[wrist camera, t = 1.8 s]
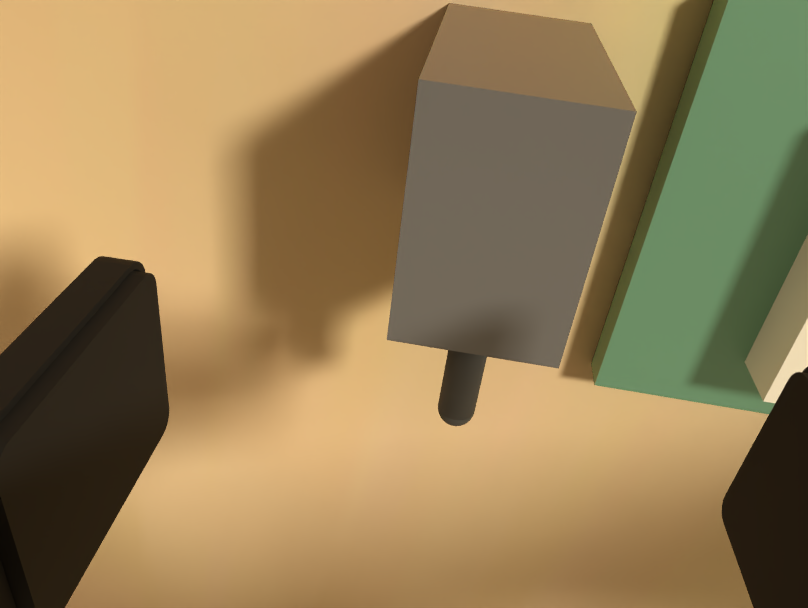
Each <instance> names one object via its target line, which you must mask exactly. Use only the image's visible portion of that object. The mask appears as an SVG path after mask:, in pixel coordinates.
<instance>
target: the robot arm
mask: <svg viewBox="0 0 808 608" xmlns="http://www.w3.org/2000/svg"><path fill="white" fill-rule="evenodd" d="M168 418H169V403H168V393H167V384H166V374H165V364H164V354H163V345H162V335H161V325H160V315H159V305H158V296H157V286H156V280H155V277H154V275H153V274H151V273H145V269H144V267H143V265H142V264H141V263H140V262H137V261H131V260H124V259H118V258H111V257H104V256H101V257H98V258H96V259H95V260H94V261H93V262H92V263H91V264H90V265H89V266H88V267H87V268H86V269H85V270H84V271H83V272H82V273H81V274H80V275H79V276H78V277H77V278H76V279H75V280H74V281H73V282H72V283H71V284H70V285H69V286H68V287H67V288H66V289H65V290H64V291H63V292H62V293H61V294H60V295H59V296H58V297H57V298H56V299H55V300H54V301H53V302H52V303H51V304H50V305H49V306H48V307H47V308H46V309H45V310H44V311H43V312H42V313H41V314H40V315H39V316H38V317H37V318H36V319H35V320H34V321H33V322H32V323H31V324H30V325H29V326H28V327H27V328H26V329H25V330H24V331H23V332H22V333H21V334H20V335H19V336H18V337H17V338H16V340H15V341H14V342H13V343H12V344H11V345H10V346H9V347H8V348H7V349H6V350H5V351H4V352H3V353H2V354H1V355H0V608H65V606H66V605H67V603H68V601H69V599H70V597H71V596H72V594H73V592H74V590H75V589H76V587H77V585H78V583H79V582H80V580H81V578H82V576H83V575H84V573H85V571H86V569H87V568H88V566H89V564H90V562H91V561H92V559H93V557H94V555H95V553H96V552H97V550H98V548H99V546H100V545H101V543H102V541H103V539H104V538H105V536H106V534H107V532H108V531H109V529H110V527H111V525H112V524H113V522H114V520H115V518H116V517H117V515H118V513H119V511H120V509H121V508H122V506H123V504H124V502H125V501H126V499H127V497H128V495H129V494H130V492H131V490H132V488H133V487H134V485H135V483H136V481H137V480H138V478H139V476H140V474H141V473H142V471H143V469H144V467H145V466H146V464H147V462H148V460H149V458H150V457H151V455H152V453H153V451H154V450H155V448H156V446H157V444H158V443H159V441H160V439H161V437H162V436H163V434H164V432H165V429H166V426H167V423H168ZM722 518H723V522H724V525H725V528H726V531H727V534H728V537H729V539H730V542H731V545H732V548H733V551H734V554H735V556H736V559H737V562H738V565H739V568H740V570H741V573H742V576H743V579H744V582H745V585H746V587H747V590H748V593H749V596H750V599H751V601H752V604H753V607H754V608H808V367H806V368H805V369H804V370H803V372H796V373H794V374H793V375H791V377H790V378H789V379H788V381H787V383H786V385H785V387H784V388H783V390H782V392H781V394H780V396H779V398H778V399H777V401H776V403H775V405H774V407H773V409H772V410H771V412H770V414H769V416H768V418H767V420H766V421H765V423H764V425H763V427H762V429H761V431H760V432H759V434H758V436H757V438H756V440H755V442H754V443H753V445H752V447H751V449H750V451H749V453H748V454H747V456H746V458H745V460H744V462H743V464H742V466H741V467H740V469H739V471H738V473H737V475H736V477H735V478H734V480H733V482H732V484H731V486H730V488H729V489H728V491H727V493H726V495H725V497H724V500H723V504H722Z"/></svg>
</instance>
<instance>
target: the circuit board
mask: <svg viewBox="0 0 808 608" xmlns="http://www.w3.org/2000/svg"><path fill="white" fill-rule="evenodd" d="M591 366H592V372H593V379H594V385H598V386H604V387H610V388H616V389H622V390H628V391H634V392H640V393H646V394H652V395H658V396H663V397H669V398H675V399H681V400H687V401H693V402H699V403H705V404H711V405H717V406H723V407H729V408H735V409H741V410H747V411H753V412H759V413H765V414H770V412H771V410H772V409H773V407H774V405H775V403H776V401H777V399H778V398H779V396H780V394H781V392H782V390H783V388H784V387H785V385H786V383H787V381H788V379H789V378H790V377H791V375H793V374H794V373H796V372H803V370H804V369H805V368H806V367H808V0H714V1H713V4H712V7H711V10H710V13H709V16H708V19H707V22H706V24H705V27H704V30H703V33H702V36H701V39H700V42H699V45H698V48H697V51H696V54H695V57H694V60H693V63H692V66H691V69H690V72H689V75H688V78H687V81H686V84H685V87H684V90H683V93H682V96H681V99H680V102H679V105H678V108H677V111H676V114H675V117H674V120H673V122H672V125H671V128H670V131H669V134H668V137H667V140H666V143H665V146H664V149H663V152H662V155H661V158H660V161H659V164H658V167H657V170H656V173H655V176H654V179H653V182H652V185H651V188H650V191H649V194H648V197H647V200H646V203H645V206H644V209H643V212H642V215H641V218H640V220H639V223H638V226H637V229H636V232H635V235H634V238H633V241H632V244H631V247H630V250H629V253H628V256H627V259H626V262H625V265H624V268H623V271H622V274H621V277H620V280H619V283H618V286H617V289H616V292H615V295H614V298H613V301H612V304H611V307H610V310H609V313H608V316H607V319H606V321H605V324H604V327H603V330H602V333H601V336H600V339H599V342H598V345H597V348H596V351H595V354H594V357H593V360H592V363H591Z"/></svg>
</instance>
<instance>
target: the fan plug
mask: <svg viewBox="0 0 808 608" xmlns="http://www.w3.org/2000/svg"><path fill="white" fill-rule="evenodd" d="M636 112H637V111H636V110H635V108H634V106H633V104H632V102H631V100H630V98H629V96H628V94H627V92H626V90H625V88H624V86H623V84H622V82H621V80H620V78H619V76H618V74H617V72H616V70H615V69H614V67H613V65H612V63H611V61H610V59H609V57H608V55H607V53H606V51H605V49H604V47H603V45H602V43H601V41H600V39H599V37H598V35H597V33H596V31H595V29H594V28H593V26H592V24H591V23H584V22H577V21H570V20H563V19H556V18H549V17H542V16H535V15H528V14H521V13H514V12H507V11H500V10H493V9H486V8H479V7H472V6H466V5H459V4H452V3H449V5H448V7H447V10H446V12H445V15H444V17H443V20H442V22H441V25H440V27H439V30H438V32H437V35H436V37H435V40H434V42H433V45H432V47H431V50H430V52H429V55H428V57H427V60H426V62H425V64H424V67H423V69H422V72H421V74H420V77H419V80H418V88H417V96H416V105H415V113H414V121H413V129H412V137H411V146H410V154H409V162H408V170H407V178H406V187H405V195H404V203H403V211H402V220H401V228H400V236H399V244H398V252H397V261H396V269H395V277H394V285H393V293H392V302H391V310H390V318H389V326H388V335H387V340H391V341H397V342H403V343H409V344H415V345H421V346H427V347H433V348H439V349H445V350H448V355H447V360H446V365H445V371H444V376H443V382H442V387H441V392H440V398H439V403H438V411H439V414H440V416H441V418H442V419H443V420H444V421H445V422H446V423H447V424H449V425H453V426H461V425H464V424H466V423H467V422H468V421H470V419H471V418H472V416H473V414H474V411H475V407H476V402H477V398H478V393H479V389H480V385H481V380H482V376H483V371H484V367H485V362H486V358H487V357H493V358H499V359H505V360H511V361H518V362H524V363H530V364H536V365H542V366H548V367H554V368H559V365H560V362H561V359H562V356H563V352H564V349H565V346H566V342H567V339H568V336H569V333H570V329H571V326H572V323H573V319H574V316H575V313H576V310H577V306H578V303H579V300H580V296H581V293H582V290H583V286H584V283H585V280H586V277H587V273H588V270H589V267H590V263H591V260H592V257H593V254H594V250H595V247H596V244H597V240H598V237H599V234H600V231H601V227H602V224H603V221H604V217H605V214H606V211H607V207H608V204H609V201H610V198H611V194H612V191H613V188H614V184H615V181H616V178H617V175H618V171H619V168H620V165H621V161H622V158H623V155H624V152H625V148H626V145H627V142H628V138H629V135H630V132H631V128H632V125H633V122H634V119H635V115H636Z"/></svg>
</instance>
